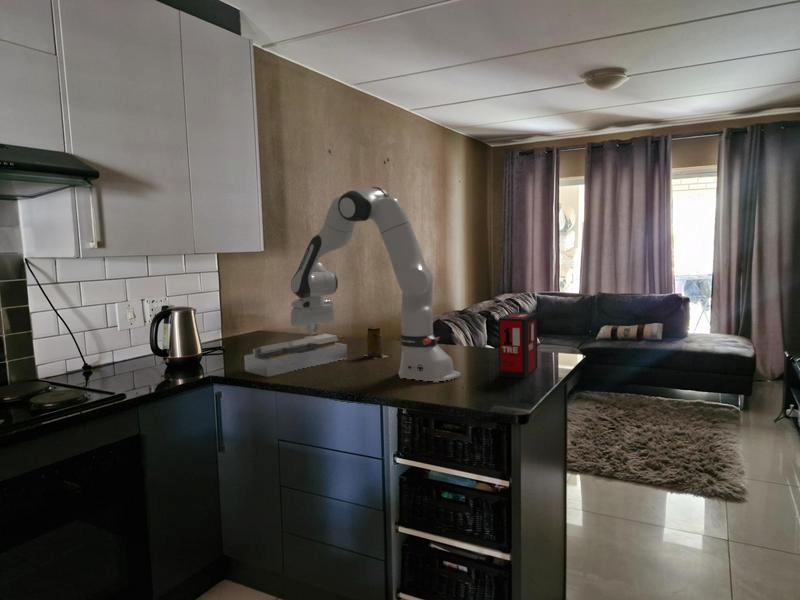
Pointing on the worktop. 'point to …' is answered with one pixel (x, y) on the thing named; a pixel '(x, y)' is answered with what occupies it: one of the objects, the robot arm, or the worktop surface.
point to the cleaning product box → (517, 344)
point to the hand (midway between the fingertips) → (313, 334)
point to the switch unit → (294, 358)
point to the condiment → (374, 343)
